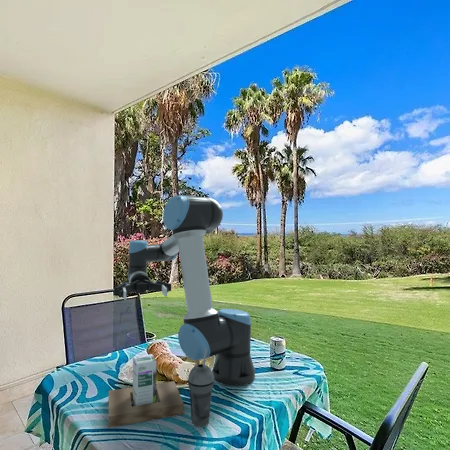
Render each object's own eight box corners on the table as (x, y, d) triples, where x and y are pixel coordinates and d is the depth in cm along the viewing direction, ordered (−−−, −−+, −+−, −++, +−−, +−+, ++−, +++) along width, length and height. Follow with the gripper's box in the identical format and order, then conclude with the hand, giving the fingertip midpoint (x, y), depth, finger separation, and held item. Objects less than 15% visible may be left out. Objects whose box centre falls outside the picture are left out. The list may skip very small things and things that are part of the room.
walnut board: (174, 390, 107) (174, 381, 107) (183, 414, 94) (183, 403, 94) (108, 400, 101) (108, 390, 101) (108, 427, 88) (108, 416, 88)
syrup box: (136, 415, 94) (136, 363, 93) (132, 404, 99) (132, 355, 99) (156, 410, 96) (156, 360, 96) (151, 400, 101) (152, 352, 101)
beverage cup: (187, 414, 94) (188, 344, 94) (213, 413, 95) (214, 343, 94) (186, 431, 87) (187, 354, 87) (214, 429, 87) (215, 354, 87)
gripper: (170, 288, 138) (182, 302, 118) (106, 293, 129) (107, 308, 109) (170, 270, 137) (182, 281, 117) (106, 274, 129) (107, 285, 109)
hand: (146, 294), depth 113 cm, fingers open, 13 cm apart
